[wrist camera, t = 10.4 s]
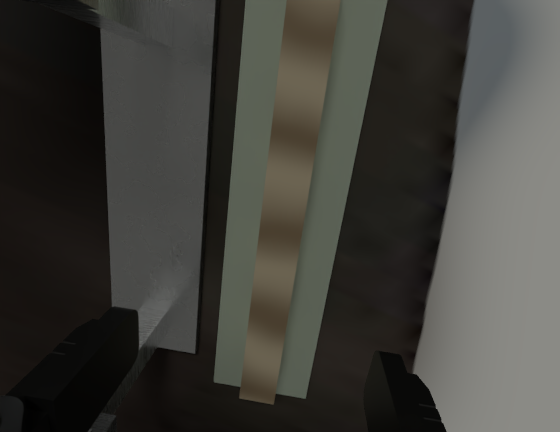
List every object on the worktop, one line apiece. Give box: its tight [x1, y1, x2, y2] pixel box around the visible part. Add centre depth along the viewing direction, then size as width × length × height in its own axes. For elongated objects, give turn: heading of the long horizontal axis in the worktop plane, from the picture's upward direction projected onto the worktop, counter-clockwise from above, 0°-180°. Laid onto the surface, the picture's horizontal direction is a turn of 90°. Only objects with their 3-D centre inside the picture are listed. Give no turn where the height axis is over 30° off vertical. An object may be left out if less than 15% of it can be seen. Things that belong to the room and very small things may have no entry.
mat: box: [214, 0, 387, 399], centre depth 26 cm, size 36×9×1 cm, turn 172°
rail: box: [239, 0, 341, 405], centre depth 24 cm, size 32×3×3 cm, turn 172°
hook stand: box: [22, 0, 220, 432], centre depth 20 cm, size 30×8×15 cm, turn 172°
